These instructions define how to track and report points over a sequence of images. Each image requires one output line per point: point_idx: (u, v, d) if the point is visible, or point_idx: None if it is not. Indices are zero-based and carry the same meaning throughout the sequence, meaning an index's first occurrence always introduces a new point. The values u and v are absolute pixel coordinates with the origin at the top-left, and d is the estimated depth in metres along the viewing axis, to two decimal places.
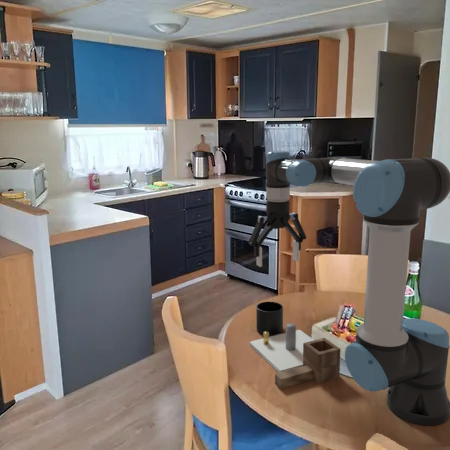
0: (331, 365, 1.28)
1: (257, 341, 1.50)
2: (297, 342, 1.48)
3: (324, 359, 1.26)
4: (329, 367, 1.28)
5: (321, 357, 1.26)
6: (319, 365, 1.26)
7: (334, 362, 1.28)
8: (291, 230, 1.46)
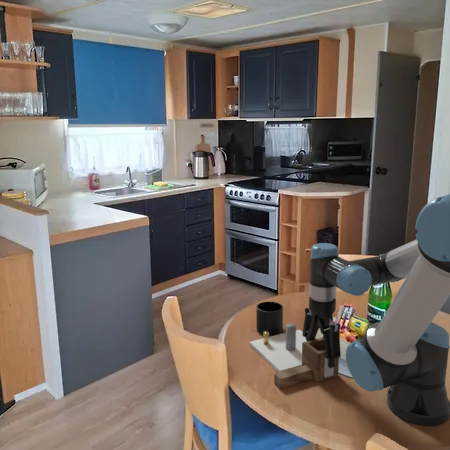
0: None
1: (257, 341, 1.50)
2: (297, 342, 1.48)
3: (323, 358, 1.27)
4: None
5: (320, 356, 1.26)
6: (318, 364, 1.26)
7: None
8: (324, 338, 1.26)
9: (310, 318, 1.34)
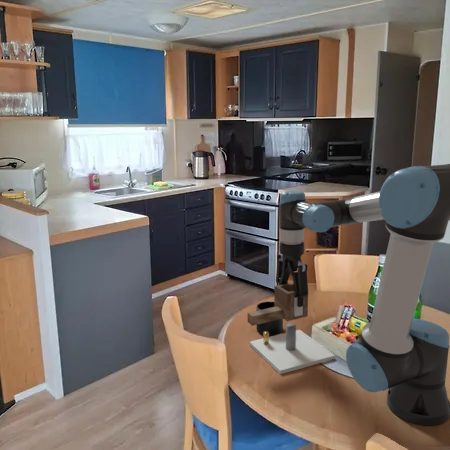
0: None
1: (257, 341, 1.50)
2: (297, 342, 1.48)
3: (293, 298, 1.36)
4: None
5: (290, 296, 1.36)
6: (288, 304, 1.36)
7: None
8: (293, 279, 1.36)
9: (282, 264, 1.43)
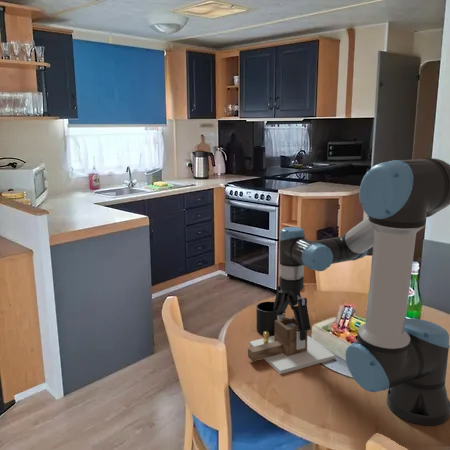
0: None
1: (257, 341, 1.50)
2: None
3: (292, 334, 1.39)
4: None
5: (289, 332, 1.38)
6: (288, 339, 1.39)
7: None
8: (294, 313, 1.38)
9: (281, 295, 1.46)
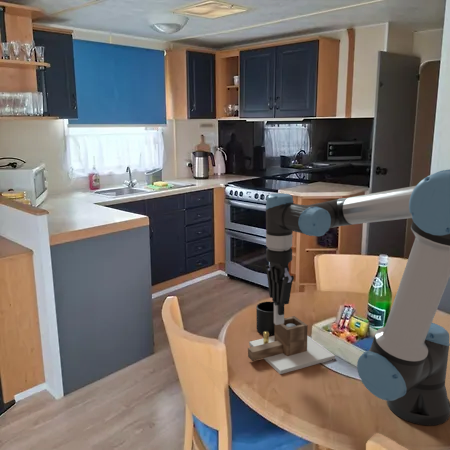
0: (299, 340, 1.41)
1: (257, 341, 1.50)
2: None
3: (292, 334, 1.39)
4: (297, 342, 1.40)
5: (289, 332, 1.38)
6: (288, 339, 1.39)
7: (302, 337, 1.41)
8: (277, 286, 1.29)
9: None
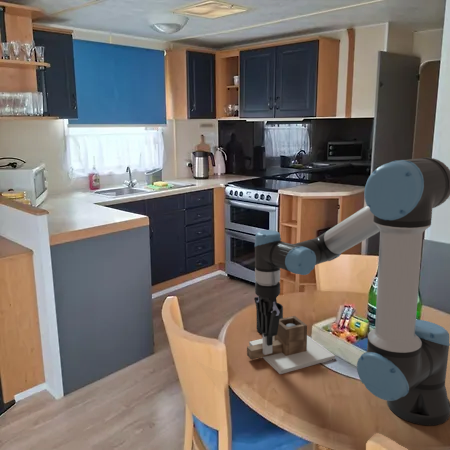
0: (298, 340, 1.41)
1: (257, 341, 1.50)
2: None
3: (291, 334, 1.39)
4: (296, 341, 1.41)
5: (288, 332, 1.39)
6: (287, 339, 1.39)
7: (301, 337, 1.41)
8: (265, 319, 1.35)
9: None
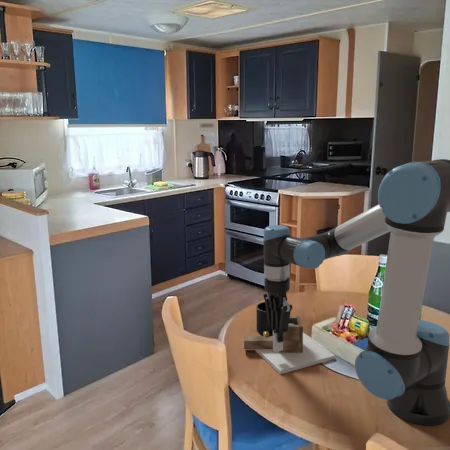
0: (293, 339, 1.41)
1: None
2: None
3: (285, 332, 1.41)
4: (291, 341, 1.41)
5: None
6: None
7: (296, 337, 1.41)
8: (276, 315, 1.33)
9: None
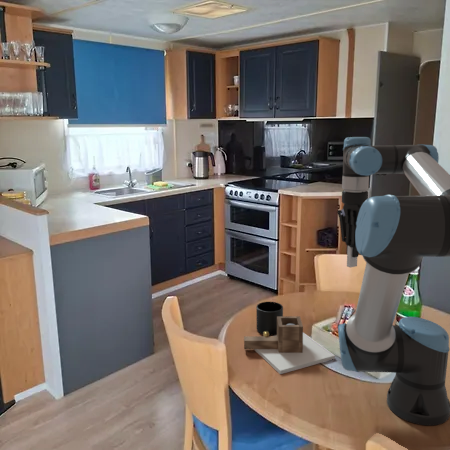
0: (293, 339, 1.41)
1: None
2: None
3: (285, 332, 1.41)
4: (291, 341, 1.41)
5: (281, 329, 1.40)
6: (279, 336, 1.41)
7: (296, 337, 1.41)
8: (352, 229, 1.33)
9: (345, 219, 1.37)
